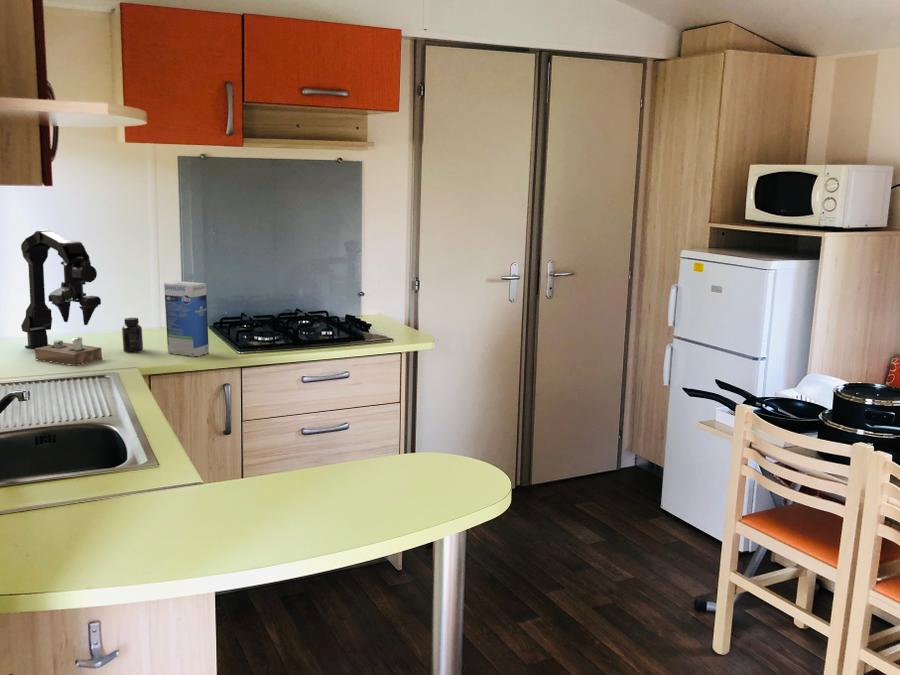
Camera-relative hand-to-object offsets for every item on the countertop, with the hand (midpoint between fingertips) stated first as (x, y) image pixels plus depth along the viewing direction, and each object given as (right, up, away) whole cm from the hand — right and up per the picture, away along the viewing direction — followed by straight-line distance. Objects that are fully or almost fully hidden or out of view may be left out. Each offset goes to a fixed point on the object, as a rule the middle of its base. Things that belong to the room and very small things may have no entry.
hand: (75, 323), depth 298 cm
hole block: (-3, -12, +2) cm, 13 cm away
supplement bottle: (+14, -10, +17) cm, 24 cm away
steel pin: (+1, -13, 0) cm, 13 cm away
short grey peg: (-7, -12, +3) cm, 14 cm away
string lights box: (+34, -11, +15) cm, 39 cm away
